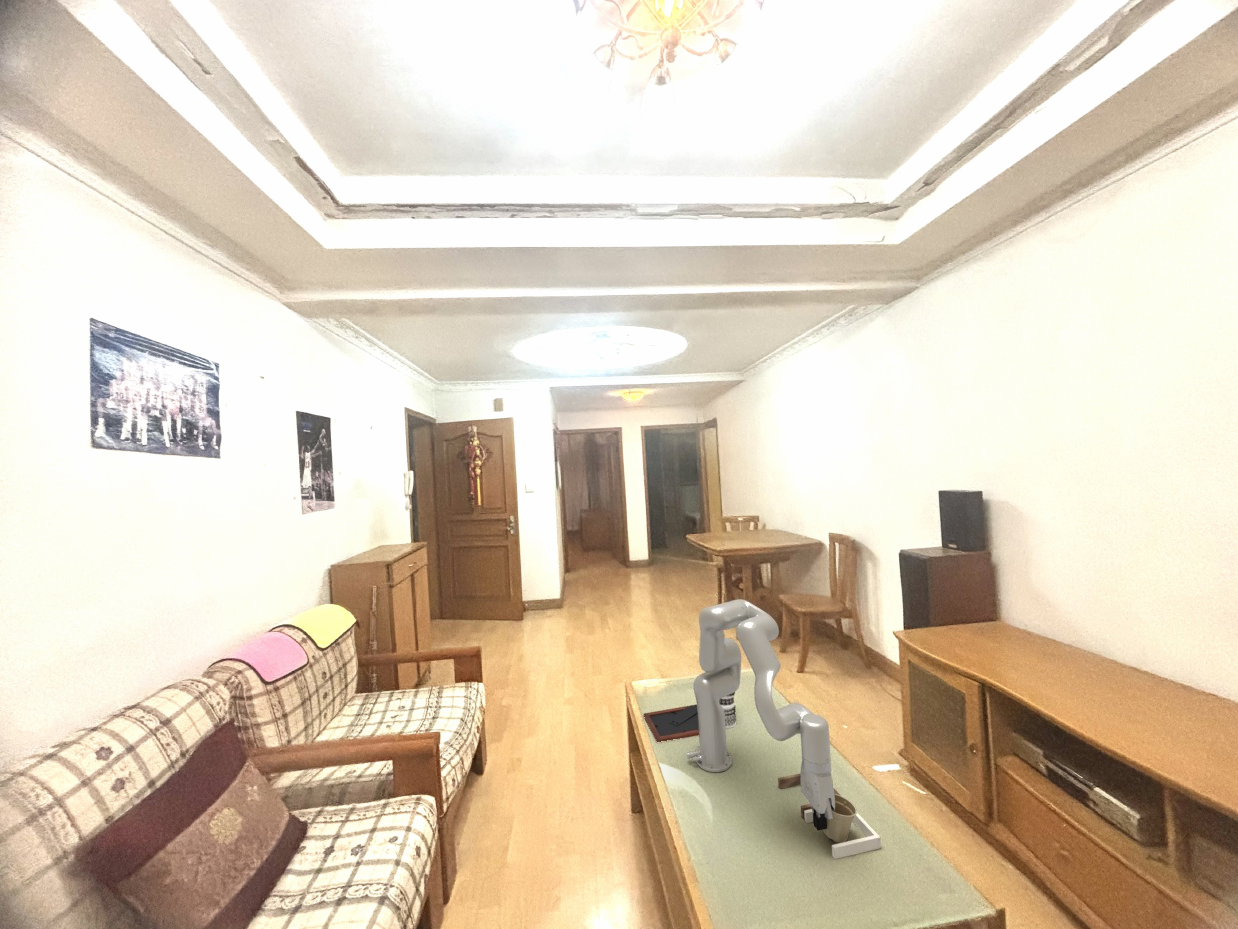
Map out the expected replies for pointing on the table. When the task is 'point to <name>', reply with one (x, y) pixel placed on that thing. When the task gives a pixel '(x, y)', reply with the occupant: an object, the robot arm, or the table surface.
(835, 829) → the flower pot
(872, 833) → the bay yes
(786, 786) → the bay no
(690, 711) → the picture frame
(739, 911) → the table surface
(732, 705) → the decorative candle
